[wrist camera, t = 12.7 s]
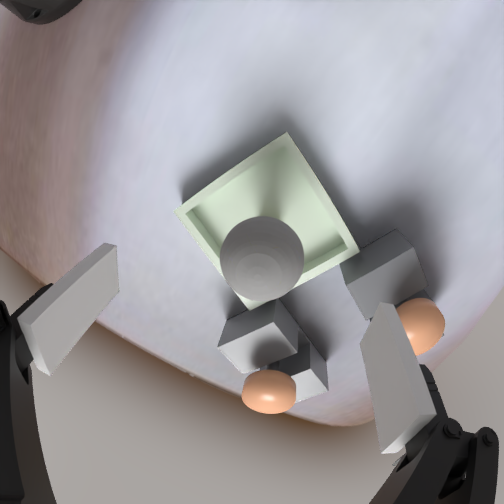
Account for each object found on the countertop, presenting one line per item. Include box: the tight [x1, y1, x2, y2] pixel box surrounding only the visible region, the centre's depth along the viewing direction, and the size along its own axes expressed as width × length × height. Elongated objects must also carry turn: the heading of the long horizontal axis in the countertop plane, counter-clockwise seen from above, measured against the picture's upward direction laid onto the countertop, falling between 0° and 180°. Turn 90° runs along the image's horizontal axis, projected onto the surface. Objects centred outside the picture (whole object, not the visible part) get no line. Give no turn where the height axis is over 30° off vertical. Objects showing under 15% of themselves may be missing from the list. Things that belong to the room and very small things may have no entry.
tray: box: [173, 132, 360, 311], centre depth 25 cm, size 12×12×2 cm
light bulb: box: [220, 216, 304, 301], centre depth 21 cm, size 6×5×10 cm
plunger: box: [242, 360, 296, 414], centre depth 27 cm, size 5×5×6 cm
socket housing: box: [217, 229, 444, 403], centre depth 28 cm, size 11×20×4 cm, turn 125°
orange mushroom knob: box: [396, 298, 445, 356], centre depth 23 cm, size 5×5×6 cm
